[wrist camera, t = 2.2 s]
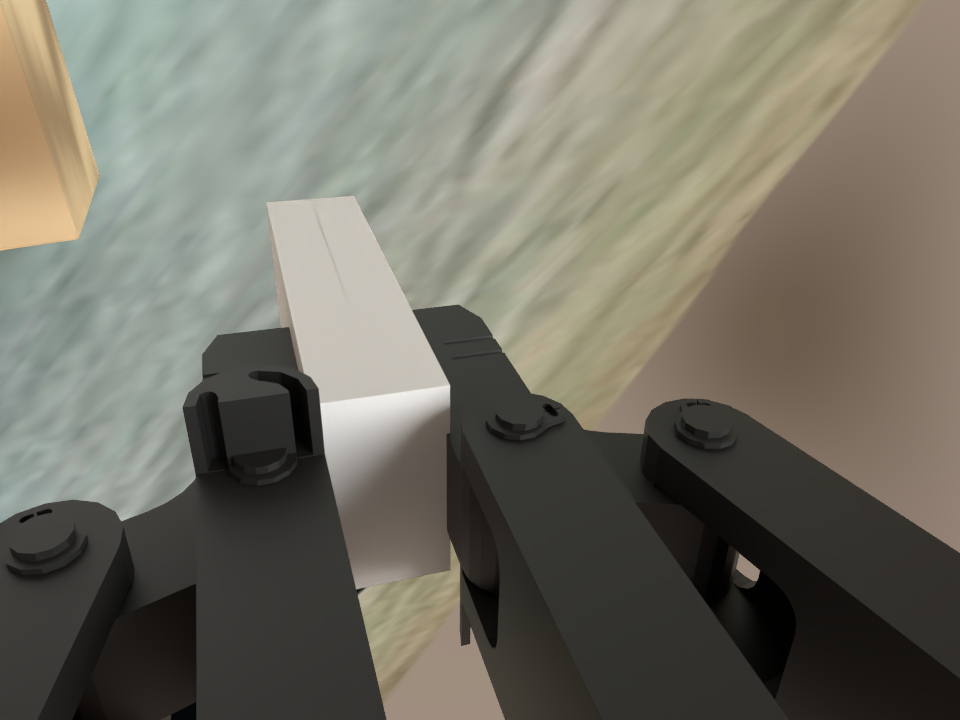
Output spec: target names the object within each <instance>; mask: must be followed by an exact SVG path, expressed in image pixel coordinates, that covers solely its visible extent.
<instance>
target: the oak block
mask: <svg viewBox="0 0 960 720" xmlns="http://www.w3.org/2000/svg"><path fill="white" fill-rule="evenodd" d="M99 176H100V175H99V172H98V169H97V166H96V162H95V159H94V156H93V153H92V149H91V146H90V143H89V139H88V136H87V133H86V130H85V126H84V123H83V120H82V117H81V113H80V110H79V107H78V104H77V100H76V97H75V94H74V91H73V87H72V84H71V81H70V78H69V74H68V71H67V68H66V64H65V61H64V58H63V55H62V51H61V48H60V45H59V42H58V38H57V35H56V32H55V29H54V25H53V22H52V19H51V16H50V12H49V9H48V6H47V3H46V0H0V251H1V250H7V249H14V248H21V247H27V246H34V245H41V244H47V243H54V242H61V241H67V240H74V239H79V236H80V233H81V230H82V227H83V224H84V221H85V218H86V215H87V212H88V209H89V206H90V203H91V200H92V197H93V194H94V191H95V188H96V185H97V182H98V179H99Z"/></svg>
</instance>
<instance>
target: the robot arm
mask: <svg viewBox="0 0 960 720" xmlns="http://www.w3.org/2000/svg"><path fill="white" fill-rule="evenodd" d="M267 212H268V220H269V229H270V237H271V246H272V254H273V263H274V271H275V280H276V288H277V297H278V305H279V314H280V322H281V328H276V329H267V330H258V331H250V332H241V333H233V334H224V335H217V337H216V338H215V339H214V340H213V342H212V343H211V344H210V345H209V347H208V348H207V349H206V351H205V352H204V353H203V354H202V372H203V381H202V382H201V383H200V384H199V385H197V386H196V387H195V388H194V389H193V390H192V391H190V392H189V393H188V395H187V398H186V400H185V403H184V405H183V412H184V417H185V422H186V427H187V432H188V437H189V442H190V447H191V452H192V458H193V463H194V468H195V473H196V479H195V480H194V482H193V483H192V484H190V485H189V486H188V487H187V488H186V489H185V490H184V491H183V492H182V493H181V494H179V495H178V496H176V497H175V498H173V499H172V500H170V501H169V502H167V503H165V504H163V505H161V506H159V507H157V508H154V509H152V510H150V511H148V512H145V513H143V514H140V515H137V516H135V517H132V518H129V519H127V520H124V521H120V519H119V517H118V516H117V514H116V512H115V511H113V510H111V509H109V508H107V507H105V506H104V505H102V504H100V503H97V502H88V501H79V500H69V501H61V502H54V503H47V504H43V505H40V506H37V507H34V508H31V509H29V510H26V511H23V512H20V513H17V514H15V515H13V516H12V517H10V518H8V519H7V520H5V521H3V522H2V523H0V720H170V718H171V714H173V713H175V712H177V711H179V710H181V709H183V708H185V707H186V706H188V705H190V704H192V703H194V702H196V701H197V720H386V716H385V712H384V707H383V703H382V699H381V694H380V690H379V686H378V681H377V677H376V673H375V668H374V664H373V660H372V655H371V651H370V647H369V642H368V638H367V634H366V629H365V625H364V621H363V616H362V612H361V608H360V603H359V599H358V595H357V590H356V589H360V588H365V587H370V586H375V585H379V584H384V583H389V582H394V581H399V580H404V579H409V578H414V577H419V576H424V575H429V574H434V573H439V572H444V571H449V570H450V539H451V542H452V544H453V547H454V549H455V552H456V555H457V557H458V560H459V562H460V636H461V646H462V645H467V644H470V627H471V628H472V631H473V633H474V636H475V639H476V642H477V644H478V647H479V650H480V652H481V655H482V658H483V661H484V663H485V666H486V669H487V671H488V674H489V677H490V680H491V683H492V685H493V688H494V690H495V693H496V696H497V699H498V702H499V704H500V707H501V710H502V713H503V715H504V718H505V720H960V553H959V552H957V551H956V550H954V549H953V548H951V547H949V546H948V545H947V544H945V543H943V542H942V541H940V540H939V539H937V538H936V537H934V536H933V535H931V534H930V533H928V532H926V531H925V530H924V529H922V528H920V527H919V526H917V525H916V524H914V523H913V522H911V521H910V520H908V519H906V518H905V517H904V516H902V515H900V514H899V513H897V512H896V511H894V510H893V509H891V508H890V507H888V506H887V505H885V504H884V503H882V502H880V501H879V500H877V499H876V498H874V497H872V496H871V495H870V494H868V493H867V492H865V491H863V490H862V489H860V488H859V487H857V486H855V485H854V484H852V483H851V482H850V481H848V480H847V479H845V478H844V477H842V476H840V475H839V474H837V473H836V472H834V471H833V470H831V469H830V468H828V467H827V466H825V465H824V464H822V463H821V462H819V461H817V460H816V459H814V458H813V457H811V456H810V455H808V454H807V453H805V452H804V451H802V450H800V449H799V448H797V447H796V446H794V445H793V444H791V443H790V442H788V441H786V440H785V439H784V438H782V437H781V436H779V435H777V434H776V433H774V432H773V431H771V430H770V429H768V428H767V427H765V426H764V425H762V424H761V423H759V422H757V421H756V420H754V419H753V418H751V417H750V416H748V415H747V414H745V413H743V412H741V411H739V410H736V409H734V408H732V407H730V406H728V405H725V404H721V403H717V402H713V401H710V400H705V399H680V400H675V401H669V402H665V403H663V404H661V405H660V406H658V407H656V408H654V409H653V410H651V412H650V414H649V416H648V417H647V419H646V422H645V428H644V434H627V433H606V432H597V431H588V430H584V429H583V428H582V427H581V425H580V424H579V423H578V421H577V420H576V418H575V417H574V416H573V414H572V413H571V412H569V411H568V410H567V409H566V408H565V407H564V406H563V405H562V404H561V403H558V402H556V401H554V400H551V399H549V398H547V397H545V396H541V395H535V394H531V393H530V391H529V390H528V388H527V387H526V385H525V384H524V382H523V381H522V379H521V378H520V376H519V375H518V373H517V372H516V370H515V369H514V367H513V365H512V364H511V362H510V361H509V359H508V358H507V356H506V355H505V353H502V349H501V347H500V346H499V344H498V343H497V341H496V340H495V339H493V335H492V334H491V332H490V331H489V329H488V328H487V326H486V325H485V323H484V322H483V320H482V319H481V318H480V317H478V316H477V315H475V314H473V313H472V312H470V311H468V310H466V309H465V308H463V307H461V306H460V305H452V306H443V307H435V308H426V309H417V310H412V309H411V307H410V305H409V303H408V301H407V299H406V298H405V296H404V294H403V292H402V290H401V288H400V286H399V284H398V282H397V280H396V278H395V276H394V274H393V272H392V270H391V268H390V266H389V264H388V262H387V260H386V258H385V256H384V254H383V252H382V250H381V248H380V246H379V244H378V242H377V240H376V239H375V237H374V235H373V233H372V231H371V229H370V227H369V225H368V223H367V221H366V219H365V217H364V215H363V213H362V211H361V209H360V207H359V205H358V203H357V201H356V199H355V197H354V196H345V197H332V198H319V199H306V200H293V201H281V202H268V203H267ZM739 553H740V554H741V555H742V556H743V557H745V558H746V559H747V560H748V561H750V562H751V563H752V564H753V565H754V566H756V567H757V568H758V569H759V570H760V574H759V578H758V580H757V582H756V581H752V580H750V579H749V578H747V577H745V576H744V575H742V573H740V572H739V571H738V570H737V569H736V566H737V562H738V558H739Z"/></svg>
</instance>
